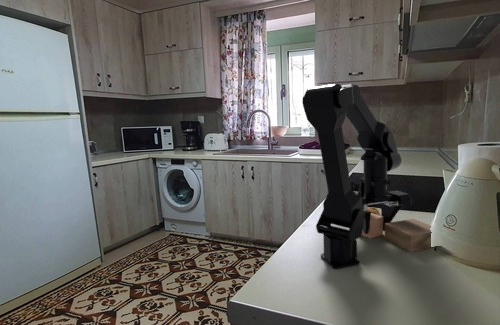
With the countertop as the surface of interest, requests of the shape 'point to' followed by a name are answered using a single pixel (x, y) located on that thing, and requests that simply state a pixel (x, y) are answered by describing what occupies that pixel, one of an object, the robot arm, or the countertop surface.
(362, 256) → the countertop surface
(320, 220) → the robot arm
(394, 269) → the countertop surface
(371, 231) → the terracotta cube
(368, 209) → the pastry
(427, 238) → the brown wooden square block
